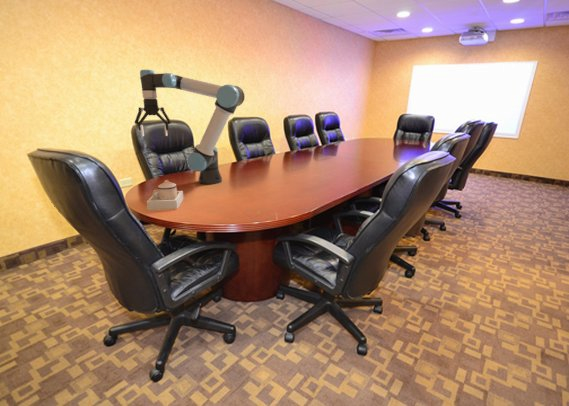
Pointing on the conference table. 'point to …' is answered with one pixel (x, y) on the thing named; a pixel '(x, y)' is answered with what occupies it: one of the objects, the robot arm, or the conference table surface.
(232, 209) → the conference table surface
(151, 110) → the robot arm
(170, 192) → the teacup with lid
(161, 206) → the white open tray
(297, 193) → the conference table surface
